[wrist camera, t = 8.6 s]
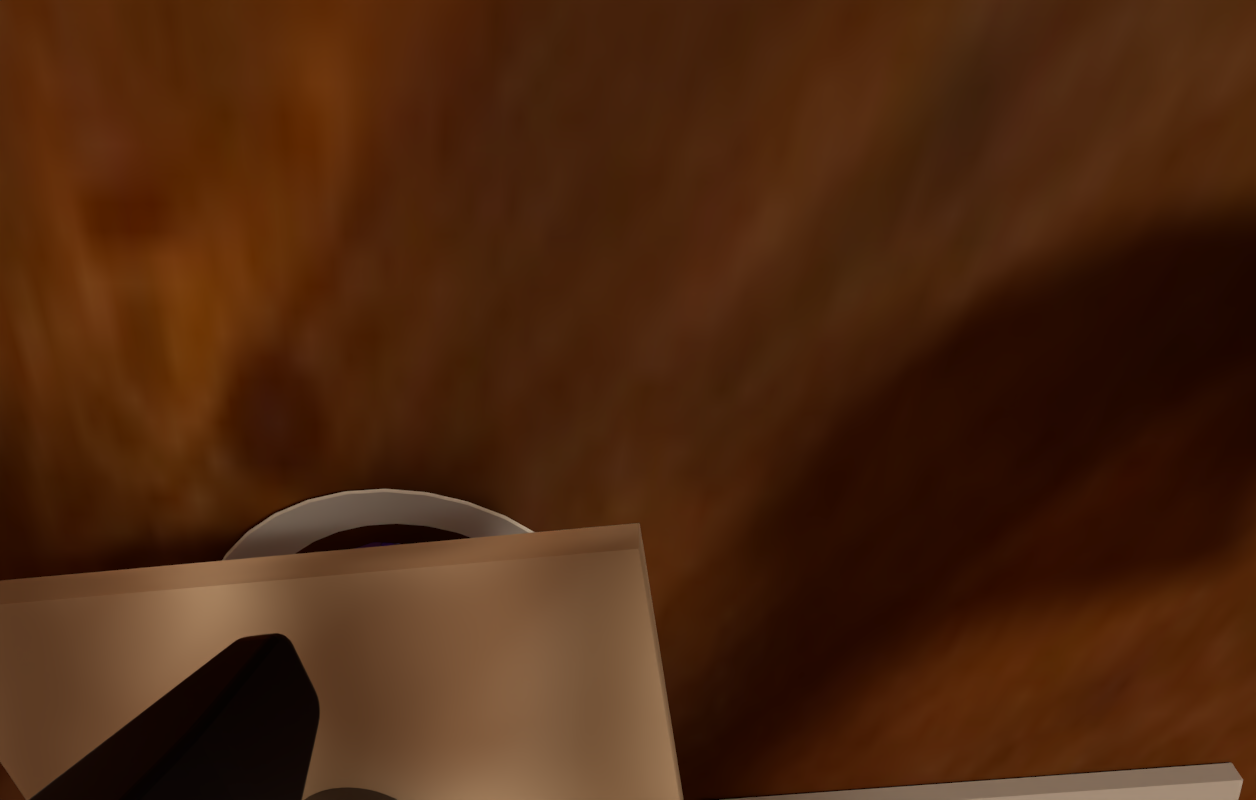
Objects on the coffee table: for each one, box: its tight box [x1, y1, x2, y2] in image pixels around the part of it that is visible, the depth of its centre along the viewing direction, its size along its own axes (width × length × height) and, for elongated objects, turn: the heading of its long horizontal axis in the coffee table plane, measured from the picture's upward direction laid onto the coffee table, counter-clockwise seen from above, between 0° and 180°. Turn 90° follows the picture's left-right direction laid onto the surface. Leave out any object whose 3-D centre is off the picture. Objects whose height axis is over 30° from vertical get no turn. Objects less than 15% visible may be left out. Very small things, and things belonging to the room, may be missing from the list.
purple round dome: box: [222, 489, 534, 561], centre depth 24 cm, size 12×12×5 cm
